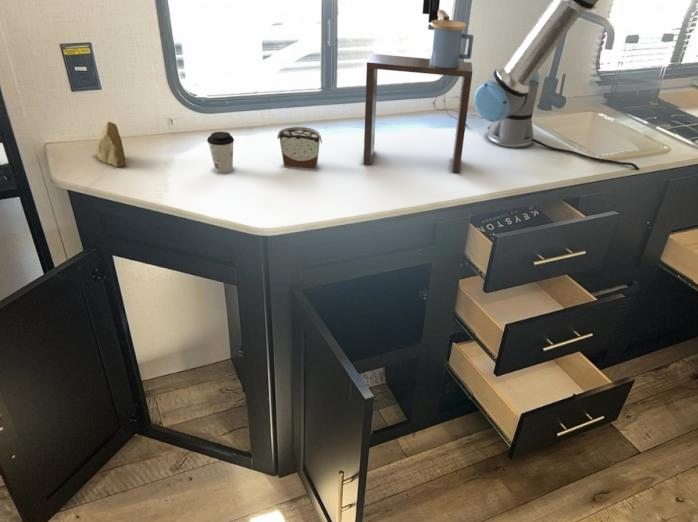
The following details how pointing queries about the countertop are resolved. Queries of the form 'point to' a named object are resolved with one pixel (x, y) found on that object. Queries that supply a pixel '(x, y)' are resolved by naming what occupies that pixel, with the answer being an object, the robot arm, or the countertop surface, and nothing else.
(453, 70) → the riser
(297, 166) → the food container
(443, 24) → the lid
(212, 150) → the coffee cup
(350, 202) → the countertop surface
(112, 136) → the rock
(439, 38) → the jug
